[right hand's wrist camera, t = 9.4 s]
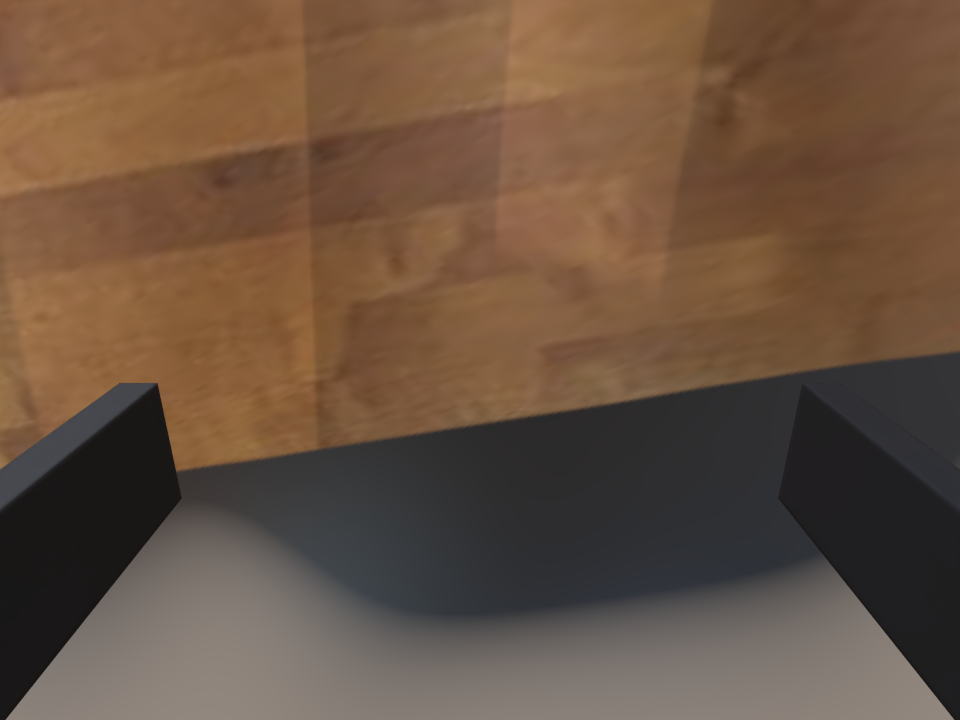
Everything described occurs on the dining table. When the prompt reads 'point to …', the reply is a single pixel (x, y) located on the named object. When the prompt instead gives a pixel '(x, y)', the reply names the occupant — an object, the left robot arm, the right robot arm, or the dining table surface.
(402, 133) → the dining table surface
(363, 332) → the dining table surface
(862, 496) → the right robot arm
